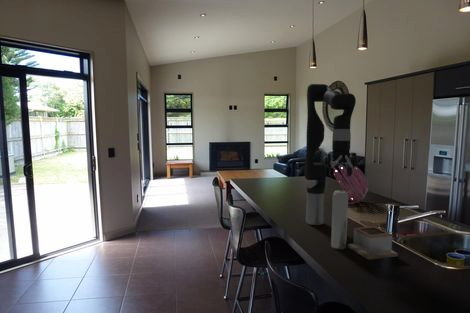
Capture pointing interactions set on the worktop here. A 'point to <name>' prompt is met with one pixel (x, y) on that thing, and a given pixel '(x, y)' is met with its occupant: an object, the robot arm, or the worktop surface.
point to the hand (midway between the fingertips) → (340, 176)
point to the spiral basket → (352, 183)
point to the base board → (372, 256)
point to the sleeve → (372, 240)
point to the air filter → (339, 219)
